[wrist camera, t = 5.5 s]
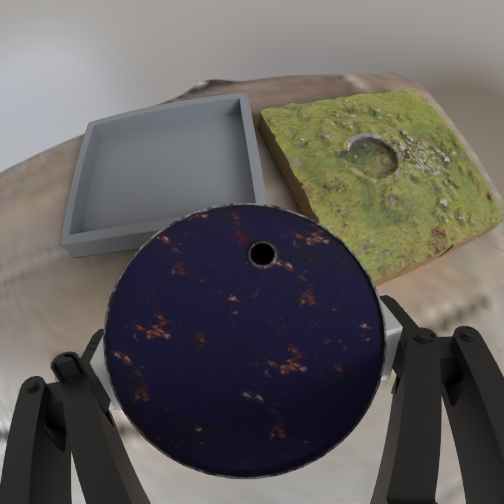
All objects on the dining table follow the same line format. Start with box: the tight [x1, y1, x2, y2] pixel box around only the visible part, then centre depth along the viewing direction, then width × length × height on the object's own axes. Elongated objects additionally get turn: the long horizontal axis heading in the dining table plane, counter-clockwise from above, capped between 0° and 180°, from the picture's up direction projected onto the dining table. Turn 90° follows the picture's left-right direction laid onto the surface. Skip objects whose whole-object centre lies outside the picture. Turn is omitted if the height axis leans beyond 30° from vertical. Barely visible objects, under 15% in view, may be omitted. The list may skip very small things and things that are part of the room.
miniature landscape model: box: [259, 89, 504, 287], centre depth 29 cm, size 22×24×5 cm
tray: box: [60, 93, 268, 258], centre depth 30 cm, size 20×17×3 cm
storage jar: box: [103, 203, 387, 479], centre depth 16 cm, size 10×10×15 cm
